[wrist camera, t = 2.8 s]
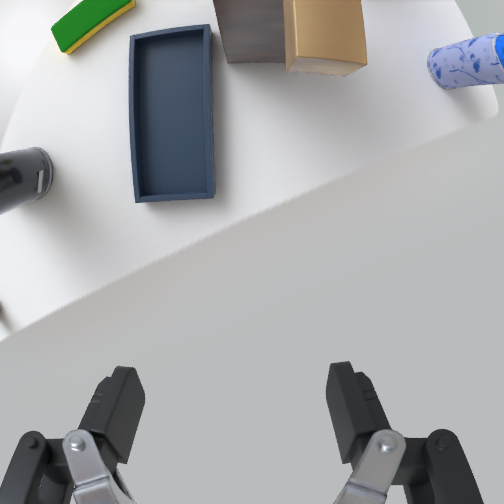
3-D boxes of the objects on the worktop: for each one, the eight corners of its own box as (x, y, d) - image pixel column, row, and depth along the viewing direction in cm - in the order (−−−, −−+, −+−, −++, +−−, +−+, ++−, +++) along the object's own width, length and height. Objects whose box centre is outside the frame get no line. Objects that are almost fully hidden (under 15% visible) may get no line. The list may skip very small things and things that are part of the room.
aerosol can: (446, 97, 37) (530, 94, 19) (419, 61, 35) (500, 40, 17) (465, 76, 35) (544, 69, 17) (440, 41, 33) (516, 19, 15)
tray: (141, 198, 43) (135, 203, 40) (136, 41, 34) (129, 35, 31) (215, 194, 43) (213, 198, 41) (211, 30, 34) (209, 23, 31)
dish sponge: (57, 30, 31) (50, 27, 29) (121, -18, 29) (116, -24, 26) (68, 55, 33) (61, 53, 31) (136, 5, 31) (131, -1, 29)
